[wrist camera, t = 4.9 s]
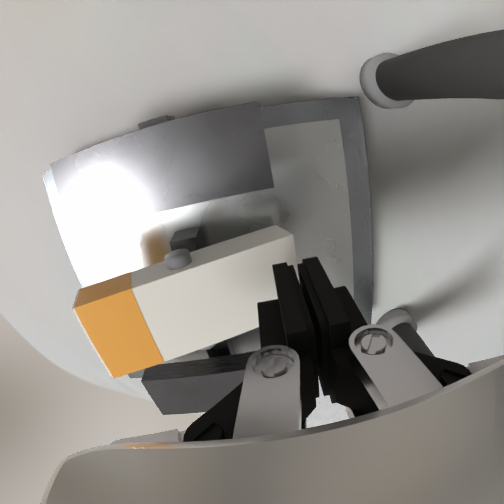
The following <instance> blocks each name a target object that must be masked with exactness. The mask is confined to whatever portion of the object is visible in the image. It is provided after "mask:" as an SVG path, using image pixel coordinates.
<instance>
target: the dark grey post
mask: <svg viewBox="0 0 504 504" xmlns="http://www.w3.org/2000/svg"><path fill="white" fill-rule="evenodd" d="M360 84H361V87H362V90H363V92H364V93H365V95H366V96H367V98H368V99H369V100H370V101H371V102H373V103H374V104H375V105H377V106H379V107H382V108H403V107H406V106H408V105H410V104H411V103H412V102H413V101H414V100H418V99H440V98H485V99H504V30H499V31H493V32H487V33H482V34H477V35H472V36H468V37H463V38H459V39H455V40H451V41H447V42H443V43H439V44H436V45H432V46H429V47H425V48H422V49H418V50H415V51H412V52H409V53H406V54H403V55H400V56H398V55H396V54H392V53H384V54H380V55H378V56H375V57H373V58H371V59H369V60H367V61H366V62H365V63H364V64H363V66H362V68H361V71H360Z"/></svg>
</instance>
